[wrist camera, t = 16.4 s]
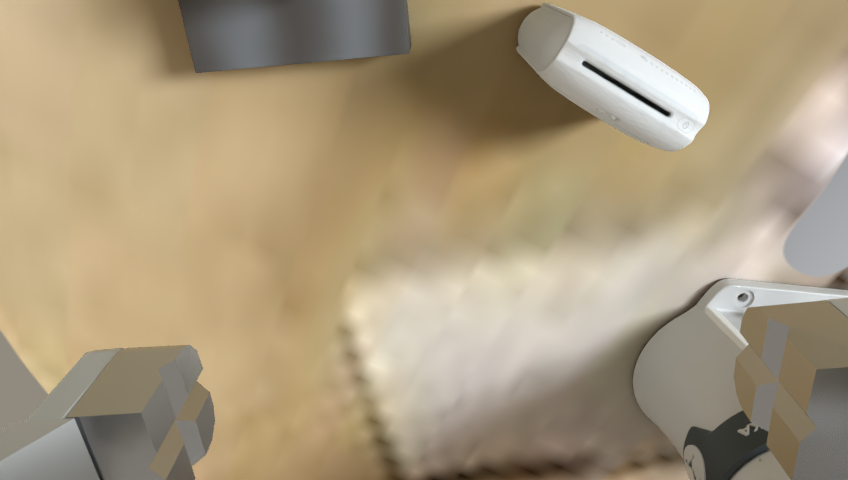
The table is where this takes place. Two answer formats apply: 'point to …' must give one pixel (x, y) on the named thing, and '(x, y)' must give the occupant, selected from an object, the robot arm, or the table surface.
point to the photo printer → (612, 78)
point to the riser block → (292, 31)
